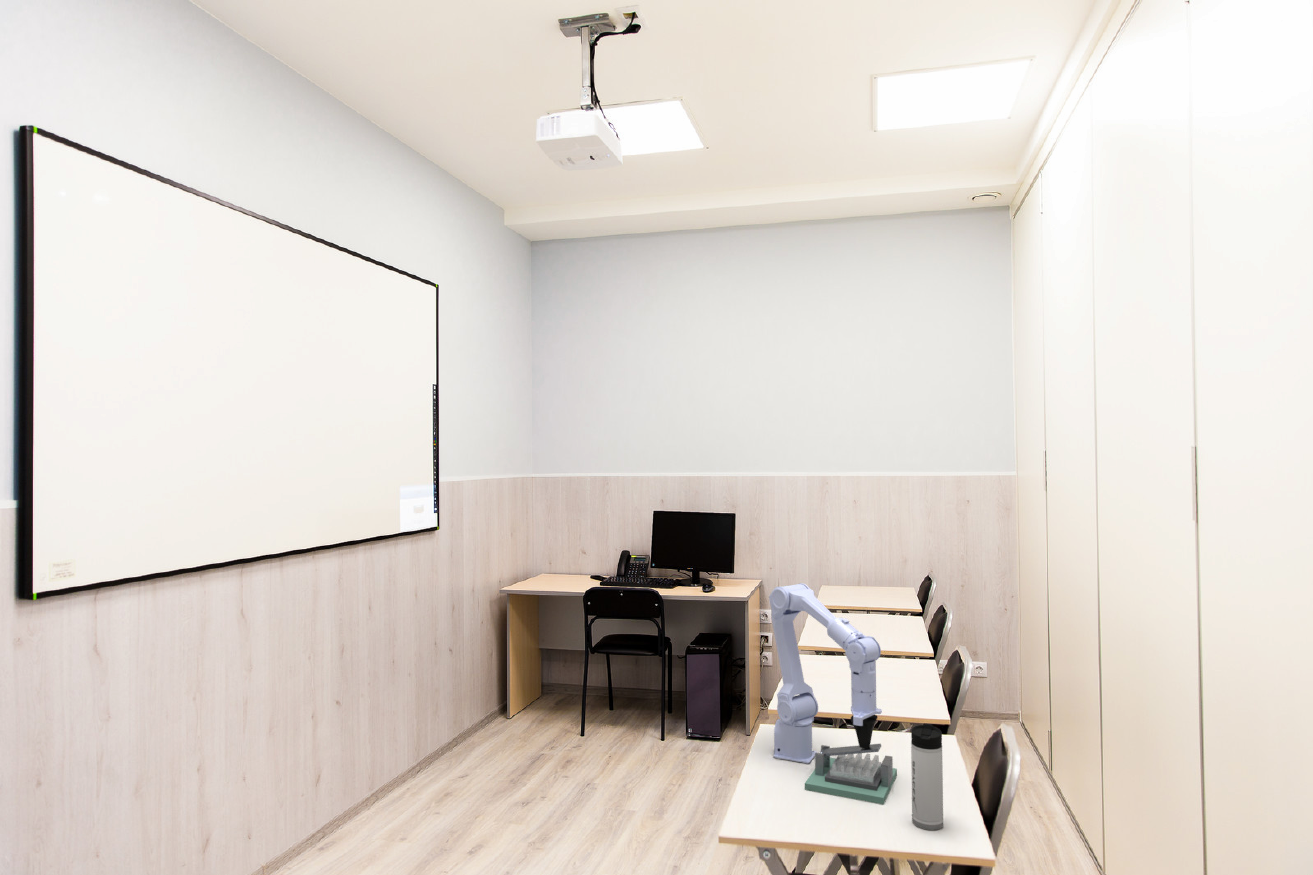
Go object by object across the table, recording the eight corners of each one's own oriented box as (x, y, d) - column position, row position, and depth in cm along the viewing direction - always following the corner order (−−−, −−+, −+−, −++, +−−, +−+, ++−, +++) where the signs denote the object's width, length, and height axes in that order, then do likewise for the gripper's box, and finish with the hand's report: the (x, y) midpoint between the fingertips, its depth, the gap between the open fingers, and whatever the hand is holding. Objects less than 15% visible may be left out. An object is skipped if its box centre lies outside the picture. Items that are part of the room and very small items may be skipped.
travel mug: (944, 819, 167) (943, 725, 167) (941, 833, 161) (940, 735, 161) (914, 814, 170) (913, 721, 170) (910, 827, 164) (909, 731, 164)
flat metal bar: (819, 757, 188) (818, 753, 188) (823, 752, 191) (822, 748, 192) (878, 752, 182) (877, 748, 182) (881, 747, 185) (880, 742, 185)
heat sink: (813, 777, 185) (813, 756, 185) (823, 762, 194) (823, 742, 194) (886, 790, 178) (886, 768, 178) (894, 774, 187) (893, 753, 187)
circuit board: (804, 789, 182) (804, 778, 182) (823, 762, 198) (823, 752, 198) (883, 804, 174) (883, 793, 174) (896, 774, 190) (896, 764, 190)
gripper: (875, 700, 177) (875, 760, 177) (886, 683, 190) (887, 739, 190) (843, 696, 180) (844, 755, 180) (857, 680, 193) (858, 735, 193)
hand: (864, 747), depth 185 cm, fingers closed, pressing on flat metal bar
